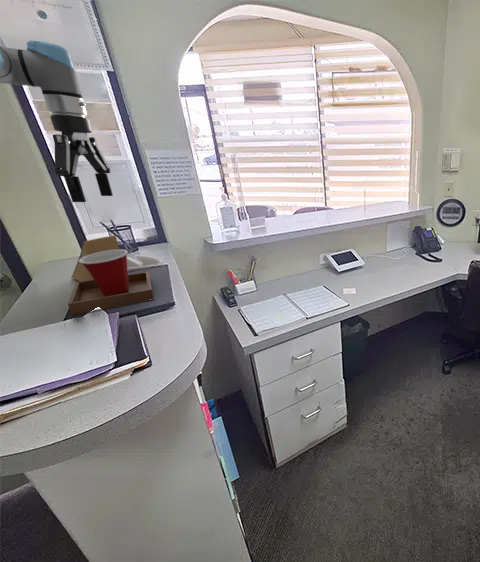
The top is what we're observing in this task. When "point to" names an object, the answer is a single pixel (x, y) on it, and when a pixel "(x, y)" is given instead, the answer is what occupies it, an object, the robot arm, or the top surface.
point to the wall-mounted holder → (142, 262)
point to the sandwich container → (90, 248)
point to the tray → (91, 296)
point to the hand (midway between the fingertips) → (94, 198)
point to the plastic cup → (108, 270)
